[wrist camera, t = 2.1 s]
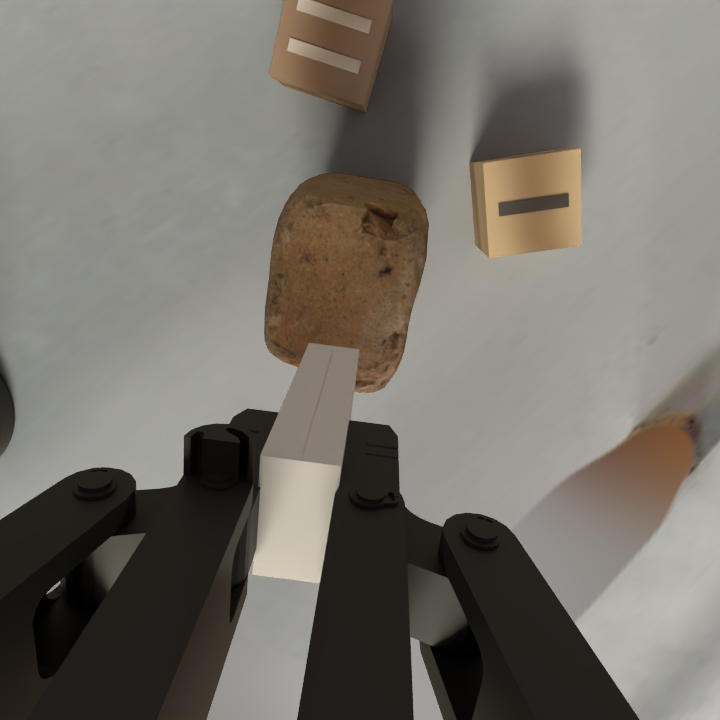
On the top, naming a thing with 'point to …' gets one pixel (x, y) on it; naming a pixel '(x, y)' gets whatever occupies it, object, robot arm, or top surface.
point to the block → (346, 272)
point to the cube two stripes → (332, 48)
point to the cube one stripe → (527, 202)
